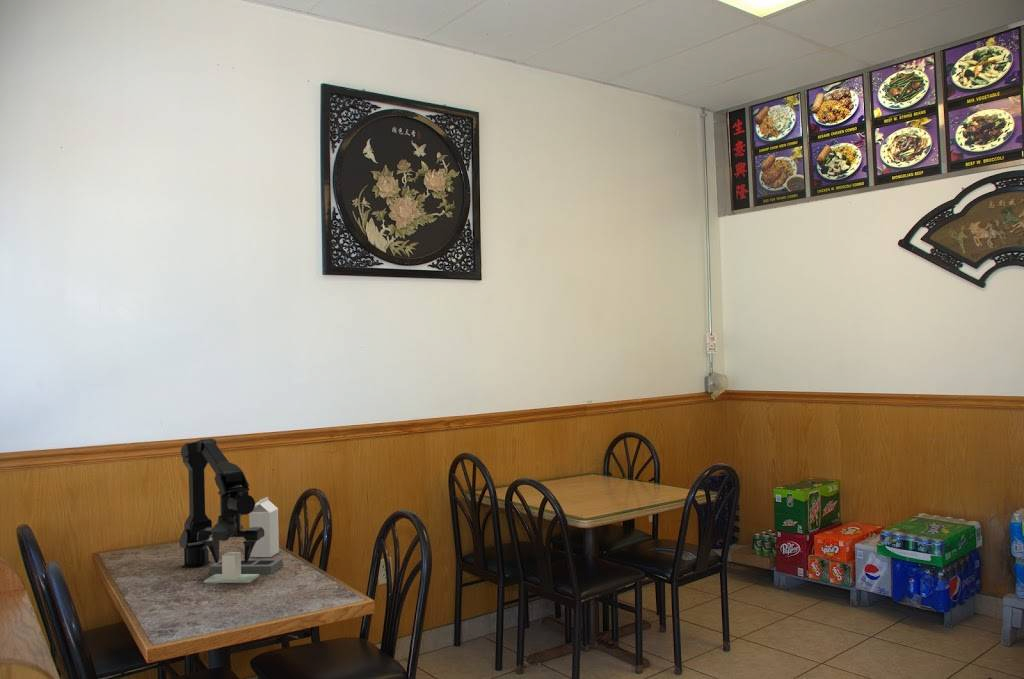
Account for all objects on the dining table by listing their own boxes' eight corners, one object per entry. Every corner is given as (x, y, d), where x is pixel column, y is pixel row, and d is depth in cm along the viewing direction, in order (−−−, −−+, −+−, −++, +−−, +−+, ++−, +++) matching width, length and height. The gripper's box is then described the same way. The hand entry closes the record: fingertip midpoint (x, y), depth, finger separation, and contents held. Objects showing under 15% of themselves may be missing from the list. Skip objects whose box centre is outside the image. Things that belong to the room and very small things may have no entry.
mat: (203, 582, 230) (203, 580, 230) (215, 576, 237) (215, 574, 237) (249, 582, 228) (249, 580, 228) (259, 576, 235) (259, 574, 235)
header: (208, 574, 239) (208, 566, 239) (222, 566, 248) (222, 558, 248) (271, 574, 237) (271, 566, 237) (282, 566, 246) (282, 558, 246)
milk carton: (279, 552, 264) (277, 496, 265) (270, 557, 257) (269, 500, 258) (259, 552, 265) (258, 496, 265) (250, 557, 258) (248, 500, 258)
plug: (222, 579, 231) (221, 555, 231) (228, 575, 235) (227, 552, 235) (235, 579, 230) (234, 555, 231) (241, 575, 234) (240, 552, 235)
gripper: (187, 516, 226) (188, 570, 226) (248, 515, 224) (249, 570, 224) (205, 508, 237) (206, 560, 237) (264, 508, 235) (265, 559, 235)
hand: (231, 562), depth 233 cm, fingers open, 9 cm apart
